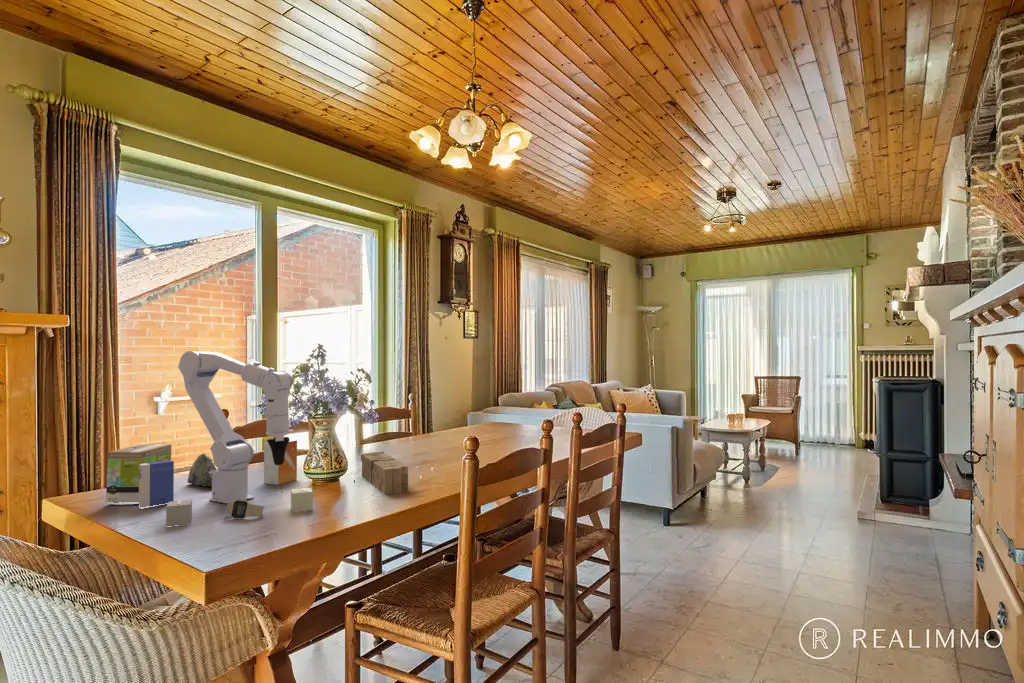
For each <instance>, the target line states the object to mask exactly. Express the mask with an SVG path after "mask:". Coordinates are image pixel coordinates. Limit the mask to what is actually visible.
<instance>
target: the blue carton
mask: <svg viewBox="0 0 1024 683" xmlns="http://www.w3.org/2000/svg"><path fill="white" fill-rule="evenodd" d="M174 464H175V462H174V460H172V459H171V460H168V461H167V459H166V460H162V461H160V462H152V463H145V464H139V505H140V507H146V506H153V505H159V504H165V503H168V502H173V501H175V499H174V498H175V497H174V495H175V494H174V490H175V489H174V488H175V487H174V486H175V484H174V482H175V480H174V479H175V478H174V477H175V471H174V470H175V468H174V467H175V465H174ZM139 505H138V506H139Z"/></svg>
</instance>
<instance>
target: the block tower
mask: <svg viewBox="0 0 1024 683" xmlns="http://www.w3.org/2000/svg"><path fill="white" fill-rule="evenodd" d="M360 462H361V477H362V479H364V480H365V481H366V482H368V483H369V484H371V483H372V484H371V485H372V486H374V487H375V488H376V489H377V490H378V491H380V492H381V493H382V492H383V493H384V494H383V493H382V494H383V495H390V494H389V493H393V494H398V493H397V492H401V493H402V492H404V491H403V490H408V491H409V466H408V465H407V464H405V463H404V462H402V461H400V460H398V459H396V458H395V457H392V456H391V455H390V454H387V453H385V451H374V452H364V453H363V452H362V453H360Z"/></svg>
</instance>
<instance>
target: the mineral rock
mask: <svg viewBox="0 0 1024 683" xmlns="http://www.w3.org/2000/svg"><path fill="white" fill-rule="evenodd" d="M217 469H218V468H217V467H216V465H215V464H214V462H213V458H211V457H210V456H208V455H207V454H206V453H202V454H200V455H198V456H197V458H196V459H195V460H194V462H193V464H192V466H191V468H190V469H189V472H188V478H187V484H190V483H193V484H192V485H194V484H195V485H194V486H199V485H202V486H201V487H212V476H213V474H214V472H215V471H216V470H217ZM205 485H206V486H205ZM209 485H210V486H209Z"/></svg>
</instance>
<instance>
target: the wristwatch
mask: <svg viewBox="0 0 1024 683" xmlns="http://www.w3.org/2000/svg"><path fill="white" fill-rule="evenodd" d="M248 500H249V499H248ZM248 500H246V499H245V500H241V499H237V500H236V501H234V502H228V503H227V504H226V507H225V514H227V515H229V516H231V517H232V519H233V520H234V519H235V520H240V519H243V520H245V519H246V518H250V517H254V518H257V517H262V516H263V512H264V508H265V507H264V506H265V505H258V504H252V503H250V502H249V501H248Z"/></svg>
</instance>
